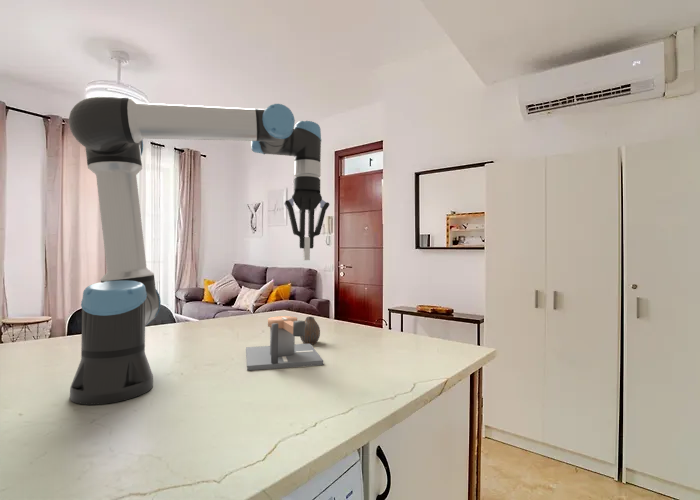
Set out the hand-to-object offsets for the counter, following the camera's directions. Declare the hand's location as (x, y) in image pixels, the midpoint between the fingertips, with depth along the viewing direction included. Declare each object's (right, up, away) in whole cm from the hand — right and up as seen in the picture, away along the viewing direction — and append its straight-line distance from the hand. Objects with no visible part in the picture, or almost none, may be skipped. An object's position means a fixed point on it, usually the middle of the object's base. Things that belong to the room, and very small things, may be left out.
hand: (306, 260), depth 107 cm
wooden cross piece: (-4, -19, -3) cm, 20 cm away
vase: (-1, -29, +20) cm, 35 cm away
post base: (-7, -28, +2) cm, 29 cm away
